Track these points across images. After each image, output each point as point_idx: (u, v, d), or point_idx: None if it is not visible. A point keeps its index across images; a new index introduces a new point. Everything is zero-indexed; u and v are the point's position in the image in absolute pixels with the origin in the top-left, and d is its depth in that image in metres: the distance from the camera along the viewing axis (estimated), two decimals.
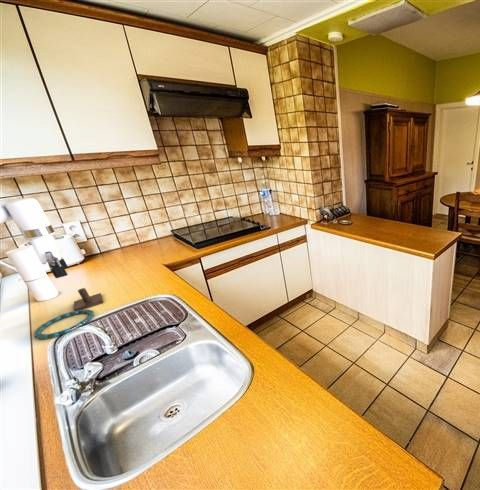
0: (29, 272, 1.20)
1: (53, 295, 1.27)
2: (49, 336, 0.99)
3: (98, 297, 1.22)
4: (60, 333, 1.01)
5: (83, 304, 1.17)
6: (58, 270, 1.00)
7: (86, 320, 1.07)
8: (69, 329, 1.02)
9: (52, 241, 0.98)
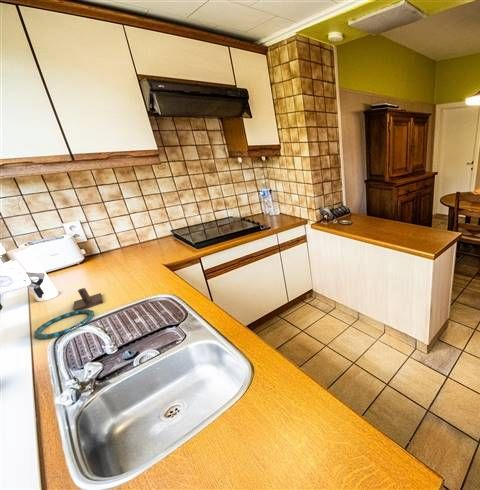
0: (29, 272, 1.20)
1: (53, 295, 1.27)
2: (49, 336, 0.99)
3: (98, 297, 1.22)
4: (60, 333, 1.01)
5: (83, 304, 1.17)
6: (39, 289, 1.00)
7: (86, 320, 1.07)
8: (69, 329, 1.02)
9: None
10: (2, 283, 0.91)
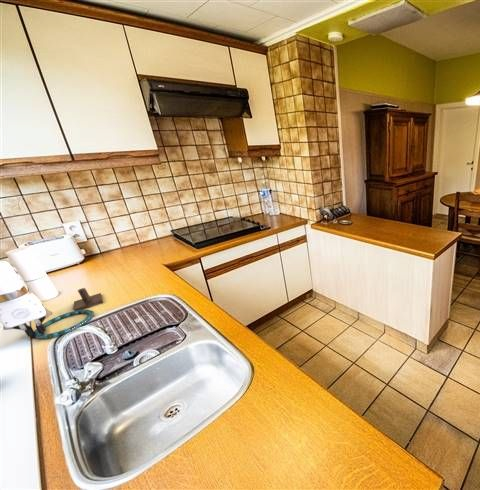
0: (29, 272, 1.20)
1: (53, 295, 1.27)
2: (49, 336, 0.99)
3: (98, 297, 1.22)
4: (60, 333, 1.01)
5: (83, 304, 1.17)
6: (41, 325, 1.02)
7: (86, 320, 1.07)
8: (69, 329, 1.02)
9: None
10: (19, 315, 0.96)
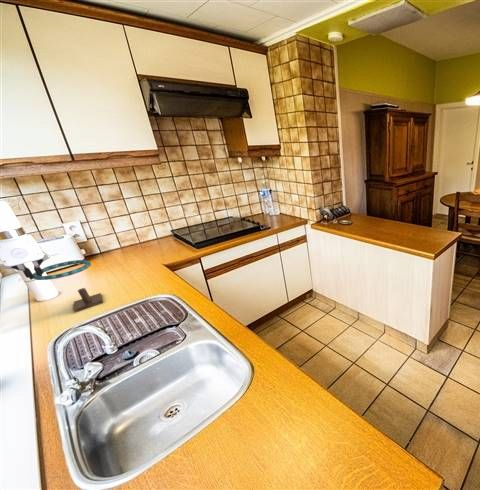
0: None
1: (53, 295, 1.27)
2: (46, 278, 1.03)
3: (98, 297, 1.22)
4: (57, 276, 1.04)
5: (83, 304, 1.17)
6: (39, 268, 1.06)
7: (83, 267, 1.11)
8: (66, 273, 1.06)
9: None
10: (18, 255, 0.99)
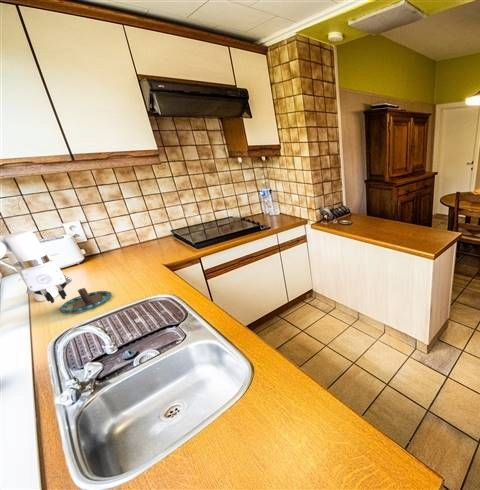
0: None
1: (53, 295, 1.27)
2: (73, 311, 1.13)
3: (98, 297, 1.22)
4: (83, 308, 1.14)
5: (83, 304, 1.17)
6: None
7: (105, 299, 1.20)
8: (91, 305, 1.15)
9: None
10: (43, 280, 1.07)
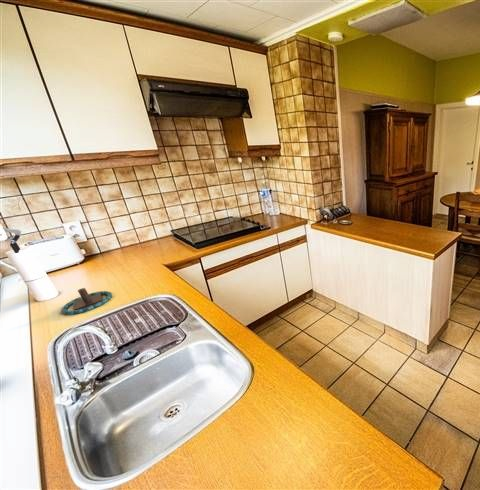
0: (29, 272, 1.20)
1: (53, 295, 1.27)
2: (74, 312, 1.13)
3: (98, 297, 1.22)
4: (84, 310, 1.14)
5: (83, 304, 1.17)
6: None
7: (106, 299, 1.21)
8: (91, 307, 1.16)
9: None
10: None
